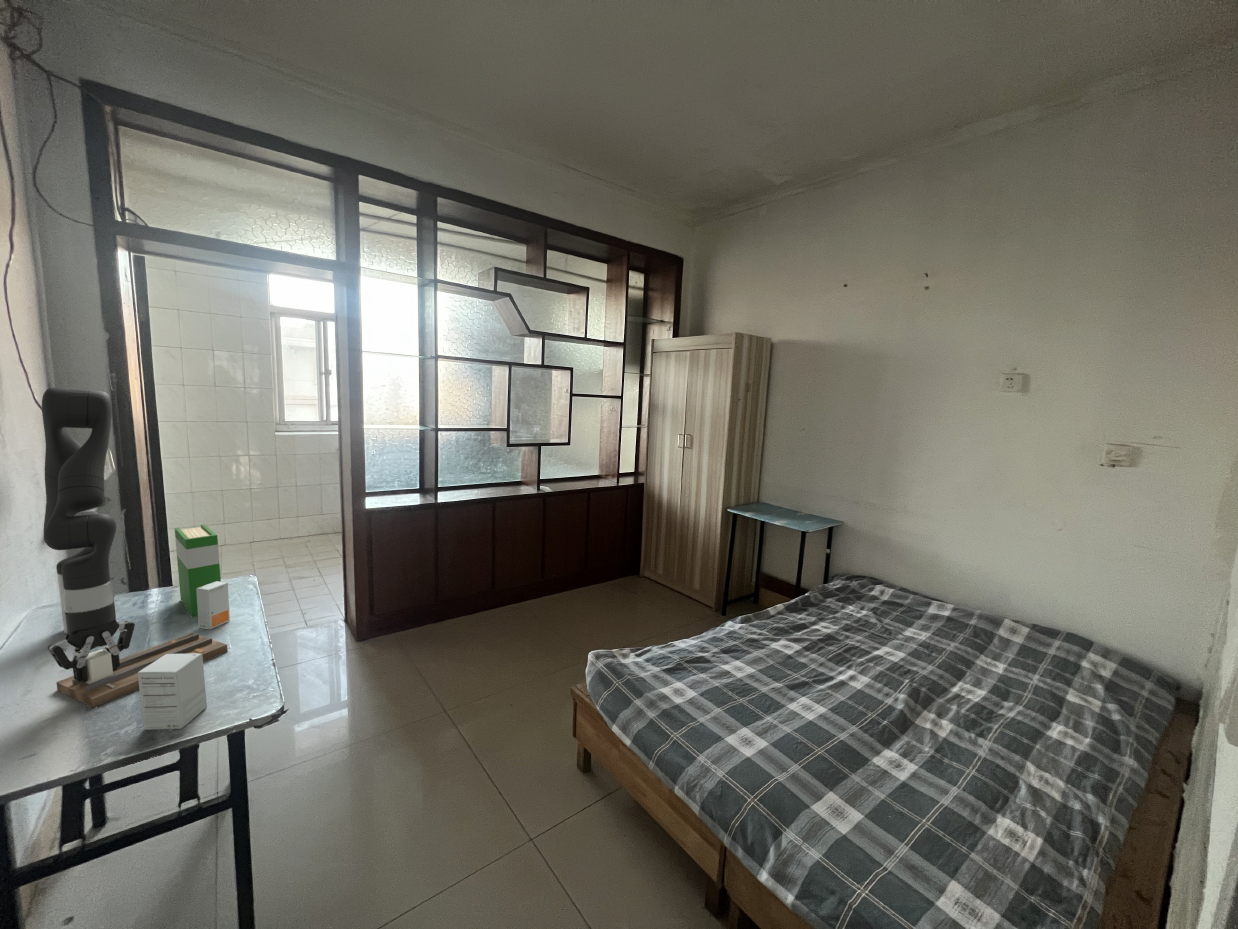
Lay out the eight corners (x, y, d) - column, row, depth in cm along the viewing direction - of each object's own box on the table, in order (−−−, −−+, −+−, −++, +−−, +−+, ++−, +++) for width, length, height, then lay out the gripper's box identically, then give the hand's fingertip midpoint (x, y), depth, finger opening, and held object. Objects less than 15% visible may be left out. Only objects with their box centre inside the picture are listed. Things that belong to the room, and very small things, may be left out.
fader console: (57, 690, 111) (55, 677, 110) (192, 639, 135) (191, 628, 134) (93, 707, 105) (91, 693, 105) (227, 651, 129) (226, 640, 129)
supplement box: (171, 708, 106) (166, 652, 104) (208, 707, 107) (203, 652, 105) (141, 730, 99) (135, 672, 97) (181, 729, 100) (176, 671, 98)
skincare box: (210, 630, 140) (207, 590, 139) (198, 628, 141) (195, 588, 140) (231, 621, 146) (228, 582, 145) (219, 619, 147) (216, 580, 146)
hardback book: (180, 600, 159) (174, 528, 156) (210, 594, 165) (204, 524, 162) (191, 617, 148) (185, 539, 145) (222, 609, 153) (217, 535, 150)
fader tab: (83, 681, 110) (80, 656, 110) (103, 673, 114) (101, 649, 113) (92, 685, 109) (89, 660, 108) (113, 677, 112) (110, 653, 111)
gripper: (122, 589, 117) (129, 657, 119) (34, 613, 104) (43, 688, 106) (140, 595, 114) (147, 664, 116) (52, 620, 101) (61, 697, 103)
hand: (97, 675), depth 111 cm, fingers open, 4 cm apart
